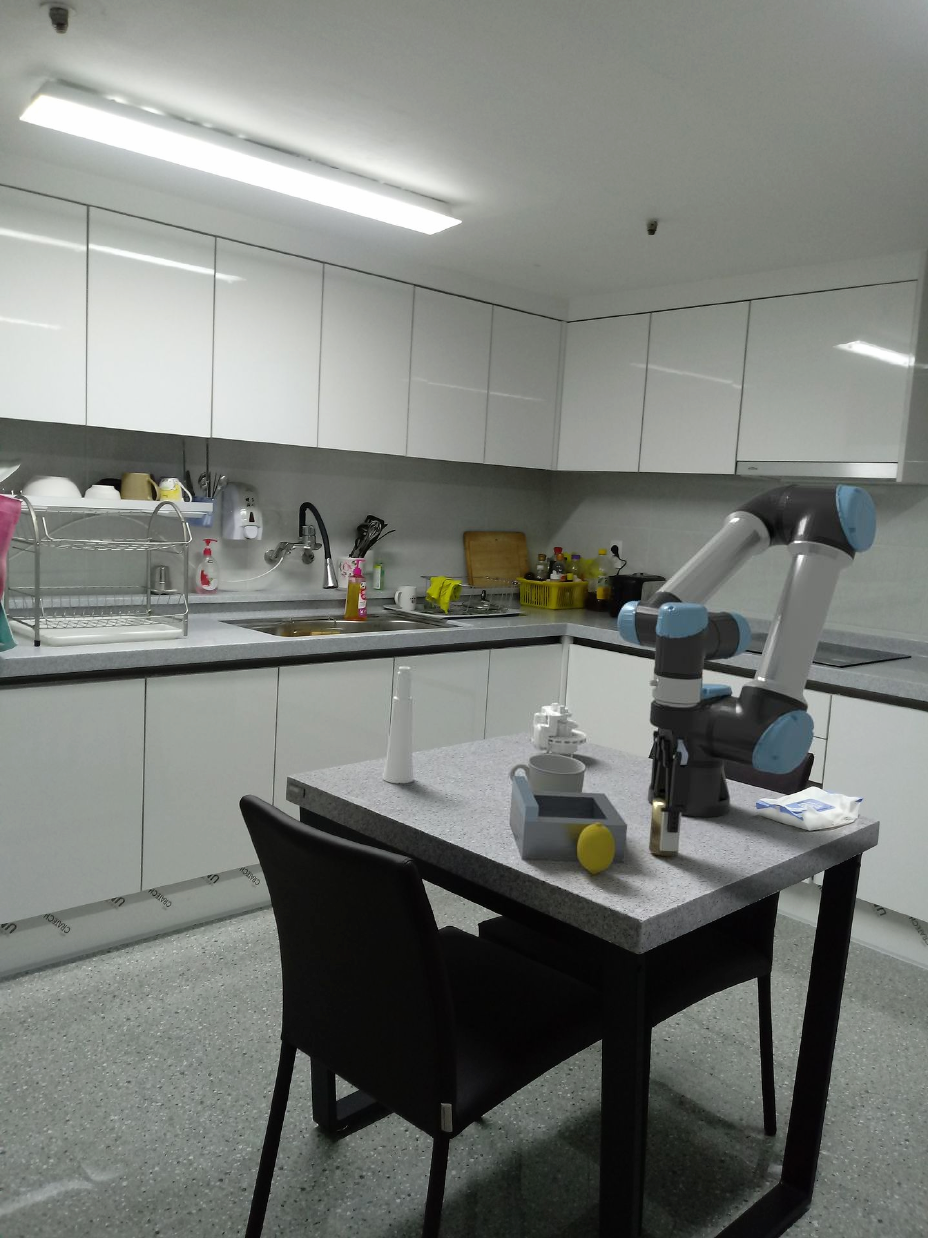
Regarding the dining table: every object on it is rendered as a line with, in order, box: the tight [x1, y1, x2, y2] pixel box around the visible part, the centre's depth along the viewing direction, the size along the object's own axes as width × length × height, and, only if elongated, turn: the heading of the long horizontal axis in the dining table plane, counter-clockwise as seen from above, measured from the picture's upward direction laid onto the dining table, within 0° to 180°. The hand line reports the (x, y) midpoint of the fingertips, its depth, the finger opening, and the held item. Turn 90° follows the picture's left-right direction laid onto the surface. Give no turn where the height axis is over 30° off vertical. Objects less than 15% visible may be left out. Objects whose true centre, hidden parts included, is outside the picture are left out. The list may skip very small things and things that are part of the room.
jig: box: [508, 775, 628, 864], centre depth 151 cm, size 16×16×8 cm
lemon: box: [577, 822, 615, 875], centre depth 138 cm, size 6×6×8 cm
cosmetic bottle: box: [382, 666, 415, 784], centre depth 179 cm, size 6×6×22 cm
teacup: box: [508, 753, 587, 793], centre depth 171 cm, size 14×11×8 cm
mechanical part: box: [530, 702, 587, 758], centre depth 204 cm, size 11×12×12 cm
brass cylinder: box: [648, 798, 682, 857], centre depth 148 cm, size 5×5×8 cm
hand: (664, 844), depth 149 cm, fingers closed on brass cylinder, 4 cm apart
